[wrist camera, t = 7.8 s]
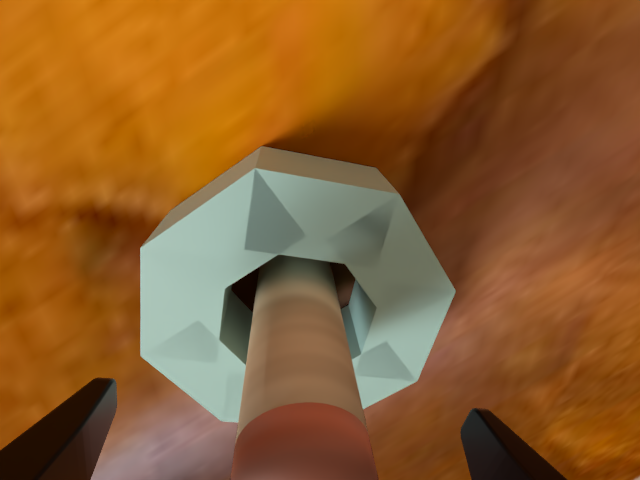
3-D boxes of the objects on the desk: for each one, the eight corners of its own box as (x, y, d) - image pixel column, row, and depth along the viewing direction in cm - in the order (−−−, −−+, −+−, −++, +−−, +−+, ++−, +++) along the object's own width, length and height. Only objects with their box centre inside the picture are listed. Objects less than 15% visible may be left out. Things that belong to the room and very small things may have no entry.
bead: (378, 376, 18) (395, 432, 15) (165, 357, 16) (140, 415, 13) (450, 181, 14) (490, 210, 11) (173, 129, 12) (140, 147, 9)
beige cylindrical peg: (323, 309, 16) (358, 540, 8) (254, 300, 15) (221, 537, 8) (339, 248, 14) (398, 452, 7) (264, 236, 14) (237, 443, 6)
